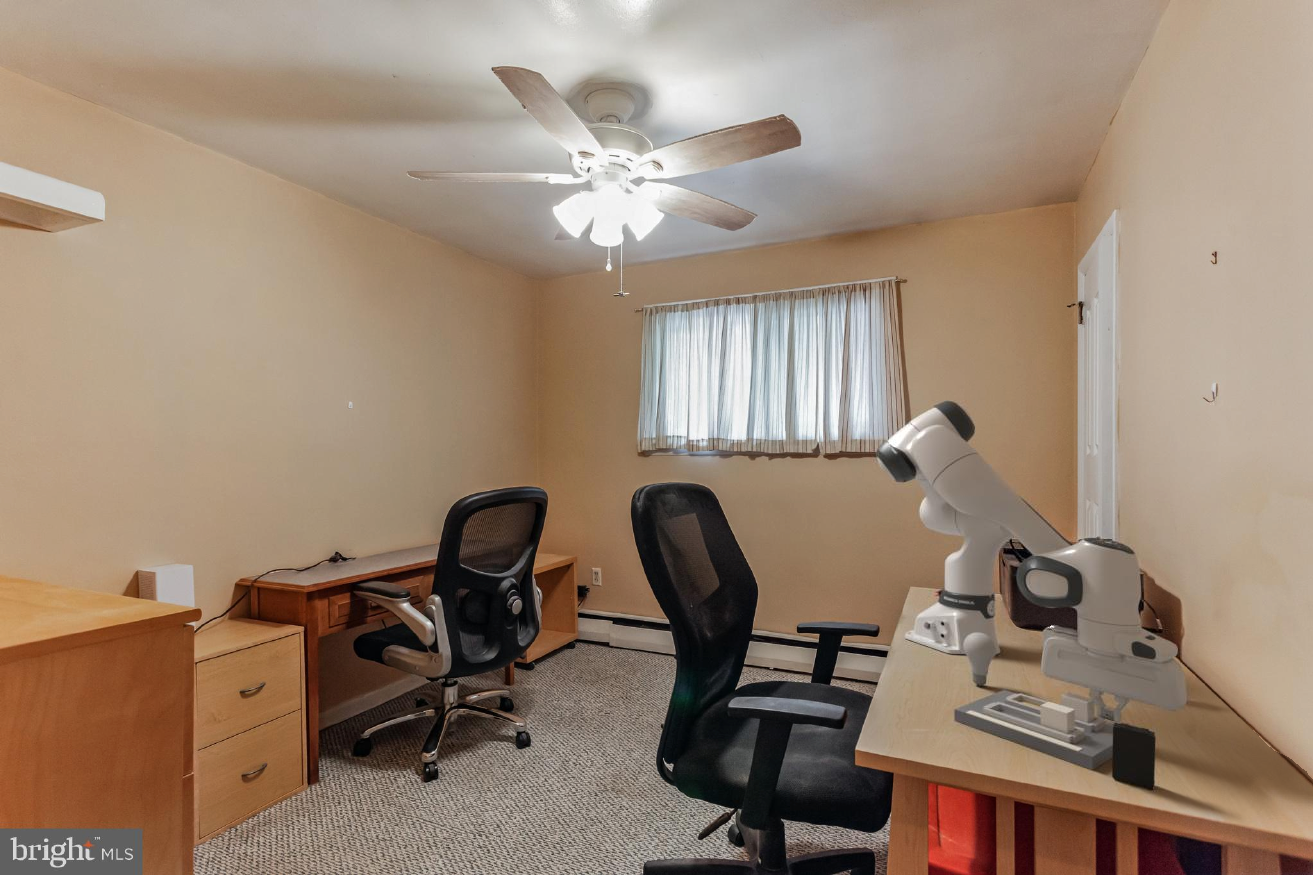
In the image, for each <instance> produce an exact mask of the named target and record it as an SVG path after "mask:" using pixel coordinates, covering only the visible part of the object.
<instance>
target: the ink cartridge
mask: <svg viewBox="0 0 1313 875" xmlns="http://www.w3.org/2000/svg"><path fill="white" fill-rule="evenodd" d="M1113 723H1114V726H1113V754H1112V758H1111V759H1112V761H1111V777H1112V779H1114V780H1115V781H1117V782H1120V783H1123V784H1127V785H1131V786H1134V787H1137V788H1141V789H1145V790H1149V791H1154V790H1155V789H1154V788H1155V783H1156V781H1155V776H1156V775H1155V773H1156V770H1155V769H1156V737H1157V736H1156V732H1154V731H1151V730H1150V729H1149V728H1145V727H1138V726H1135V725H1131V724H1129V723H1123V722H1121V723H1120V722H1118V723H1117V722H1114V721H1113Z"/></svg>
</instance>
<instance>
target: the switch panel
mask: <svg viewBox="0 0 1313 875" xmlns="http://www.w3.org/2000/svg"><path fill="white" fill-rule="evenodd" d="M1047 702H1049V701H1048V700H1045V699H1044V700H1043V699H1041V698H1037V697H1035V696H1030V695H1027V694H1024V693H1016V692H1012V691H1009V690H1006V689H1003V690H1000V691H998V692H996V693H995V692H994V693H993V694H990V695H988V696H985V697H982V698H979V699H977V700H975V701H973V702H970V703H967V704H965V705H962V706H959V707H957V708H954V713H953V714H954V719H953V720H954V721H955V722H957V723H961V724H963V725H966V726H969V727H972V728H974V729H977V730H980V731H983V732H985V733H988V734H991V735H994V736H996V737H1000V738H1002V739H1005V740H1008V741H1011V742H1013V743H1016V744H1019V745H1022V746H1024V747H1027V748H1029V749H1032V750H1036V751H1038V752H1041V753H1043V754H1047V755H1049V756H1052V757H1054V758H1057V759H1061V760H1063V761H1065V762H1069V763H1071V764H1075V765H1077V766H1080V767H1082V768H1085V769H1088V770H1090V771H1093V770H1095V769H1097V768H1098V767H1100V766H1102V765H1103V764H1105V763H1106V762H1107V761H1108V762H1109V760H1111V759H1112V754H1113V726H1114V721H1110V720H1107V719H1104V718H1100V717H1098V716H1097V715H1095V721H1093V722H1091V723H1086V722H1083V721H1079V720H1076V719H1075V731H1074V732H1072V733H1070V734H1065V733H1062V732H1059V731H1056V730H1053V729H1050V728H1047V727H1044V726H1041V705H1042V704H1045V703H1047Z"/></svg>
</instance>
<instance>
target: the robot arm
mask: <svg viewBox="0 0 1313 875" xmlns="http://www.w3.org/2000/svg"><path fill="white" fill-rule="evenodd" d="M971 416H972V415H971V414H970V413H969V412H968V411H967V409H966V408H964V407H963V406H961V405H959V404H958V403H956V402H955V401H951V400H945V401H942V402H940V403H938V404H935V405H933V407H932V408H931V409H929V410H926V411H925V412H922V413H921V414H919V415H918V416H916V417H915V418H913V419H911V420H910V421H909V422H908V423H906V424H905V425H904V426H903V427H902V428H900V429H899V430H898V431H897V432H895V433H893V435H892V436H891V437H890V438H888V440H884V441H883V442H882V443H881V444H880V445H879V446H878V447H877V448H876V453H875V456H876V458H877V459H876V460H877V463H878V466H879V468H880V469H881V471H882V472H883V473H884V474H885V476H887V477H888V478H890V479H892V480H894V481H895V482H896V483H897V482H898V483H903V484H904V483H906V482H909V481H912V480H916V482H917V484H918V485H919V487H920V488H921V490H922V492H923V493H924V495H925V497H924V498H923V499H922V501H921V504H920V505H919V518H920V521H921V523H922V524H923V526H924V527H925V528H926V529H928V530H932V531H934V532H937V533H939V534H943V535H950V536H956V537H957V536H959V537H964V538H963V539H964V540H963V544H962V546H961V548H960V549H959V550H957V551H954V552H952V553H951V554H949V555H948V556H947V557H946V559H945V561H944V588H942V589H940V590H937V591H934V593H935V594H934V597H938V600H937V602H936V603H934V604H933V605H931V606H929V607H927V608H926V609H925V610H923V611H921V612H920V613H919V614H917V616H916V617H915V622H914V627H913V629H911V630H909V631H906V633H905V634H904V638H905V639H906V640H909V641H912V642H915V643H917V644H920V645H923V646H927V647H929V648H932V649H934V650H937V651H940V652H943V653H946V654H950V655H951V654H952V655H966V653H965V651H964V647H963V644H964V641H965V639H966V637H967V636H968V635H970V634H972V633H983V634H986V635H987V636H989V637H990V638H991V639H992V640H993V642H994V643H995V646H996V653H995V655H998V654H1000V653H1001V649H1000V648H1001V647H1000V646H999V642H998V637H997V632H996V625H995V624H996V623H995V616H996V594H995V593H994V572H995V564H996V560H997V557H998V555H999V552H1000V551H1001V549H1002V548H1003V546H1004V545H1005V544H1006V543H1007V542H1009V541H1010V540H1011V539H1013V538H1016V539H1017V540H1018V541H1019V542H1020V543H1021V545H1022V546H1024V547H1025V548H1026V549H1027V550H1028V551H1029V552H1030V553H1031V554H1032V555H1031V556H1029V557H1026V558H1025V559H1023V561H1021V563H1019V566H1018V567H1017V571H1016V583H1017V584H1016V585H1017V586H1018V589H1019V591H1020V593H1021V594H1022V596H1023V597H1024V598H1025V599H1026V600H1027V601H1029V602H1030V603H1032V604H1033V605H1036V606H1039V607H1043V608H1048V609H1049V608H1051V609H1055V608H1073V609H1075V610H1076V612H1077V618H1076V619H1077V628H1076V629H1075V628H1070V627H1062V626H1060V625H1056V624H1052V625H1051V626H1047V627H1045V628H1044V629H1043V631H1042V634H1041V635H1042V637H1041V639H1042V644H1043V650H1042V655H1041V665H1040V666H1041V669H1040V670H1041V672H1042V673H1043V675H1044V676H1045V677H1046V678H1049V679H1054V680H1056V681H1061V682H1064V683H1067V684H1070V685H1075V686H1080V687H1083V688H1087V689H1089V696H1090V698H1091V699H1092V700H1093V701H1094V703H1095V707H1097V708H1096V711H1097V712H1096V713H1097V714H1096V716H1098V717H1100V718H1104V719H1105V720H1107V721H1110V722H1113V723H1114V722H1115V723H1120V722H1121V721H1122V711H1123V710H1124V708H1125V707H1126V706H1127V705H1128V704H1129V703H1130V700H1131V701H1135V702H1138V703H1142V704H1146V705H1149V706H1154V707H1156V708H1157V707H1158V708H1161V709H1165V710H1169V711H1173V712H1176V711H1178V710H1180V709H1182V708H1183V707H1184V706H1186V704H1187V701H1188V699H1187V698H1188V694H1187V684H1186V683H1187V682H1186V678H1185V673H1184V670H1183V668H1182V665H1181V663H1179V662H1178V661H1177V660H1176V659H1175V657H1176V656H1177V655H1178V653H1179V650H1178V646H1177V644H1175V643H1174V642H1172V641H1170V640H1168V639H1165V638H1163V637H1161V636H1159V635H1156V634H1154V633H1153V632H1151V631H1148V630H1146V629H1144V628H1142V619H1141V616H1140V613H1139V605H1140V600H1141V598H1142V585H1141V584H1142V583H1141V581H1142V580H1141V573H1140V572H1141V571H1140V566H1139V559H1138V557H1137V555H1136V552H1135V551H1134V549H1132V548H1131V547H1129V546H1128V545H1127V544H1126V545H1125V544H1124V543H1122V542H1119V541H1115V540H1111V539H1107V538H1100V537H1085V538H1083V539H1082V540H1081V539H1080V541H1078V542H1076V543H1072V542H1071V541H1070V540H1068V539H1067V538H1066V537H1065V536H1063V535H1062V534H1061V533H1060V532H1058V530H1057V529H1056V528H1055V527H1053V526H1052V525H1051V524H1050V523H1049V522H1048V521H1047V520H1046V519H1045V518H1044V517H1043V516H1042V515H1041V514H1040V513H1039V512H1038V511H1036V509H1034V507H1032V506H1031V504H1029V503H1028V502H1027V501H1026V500H1025V499H1023V498H1022V497H1021V496H1020V495H1019V494H1018V492H1016V491H1015V490H1014V488H1012V487H1011V486H1010V485H1009V484H1008V483H1007V482H1006V481H1005V480H1004V479H1003V478H1002V477H1001V476H1000V475H999V473H997V472H996V470H995V469H994V468H993V467H992V466H991V465H990V464H989V463H988V462H987V461H986V459H984V457H983V456H982V455H981V454H980V453H979V452H978V451H977V450H976V449H975V448H974V447H973V445H971V444H970V443H968V442H969V441H970V440H971V439H972V438H973V436H974V435H975V433H976V432H975V431H976V426H975V424H974V422H973V421H974V420H973V418H972V417H971ZM1104 693H1105V694H1109V695H1113V696H1114V702H1116V703H1117V705H1116V706H1115V707H1111V706H1108V705H1106V704H1105V701H1104V700H1103V698H1102V696H1103V695H1104Z"/></svg>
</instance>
